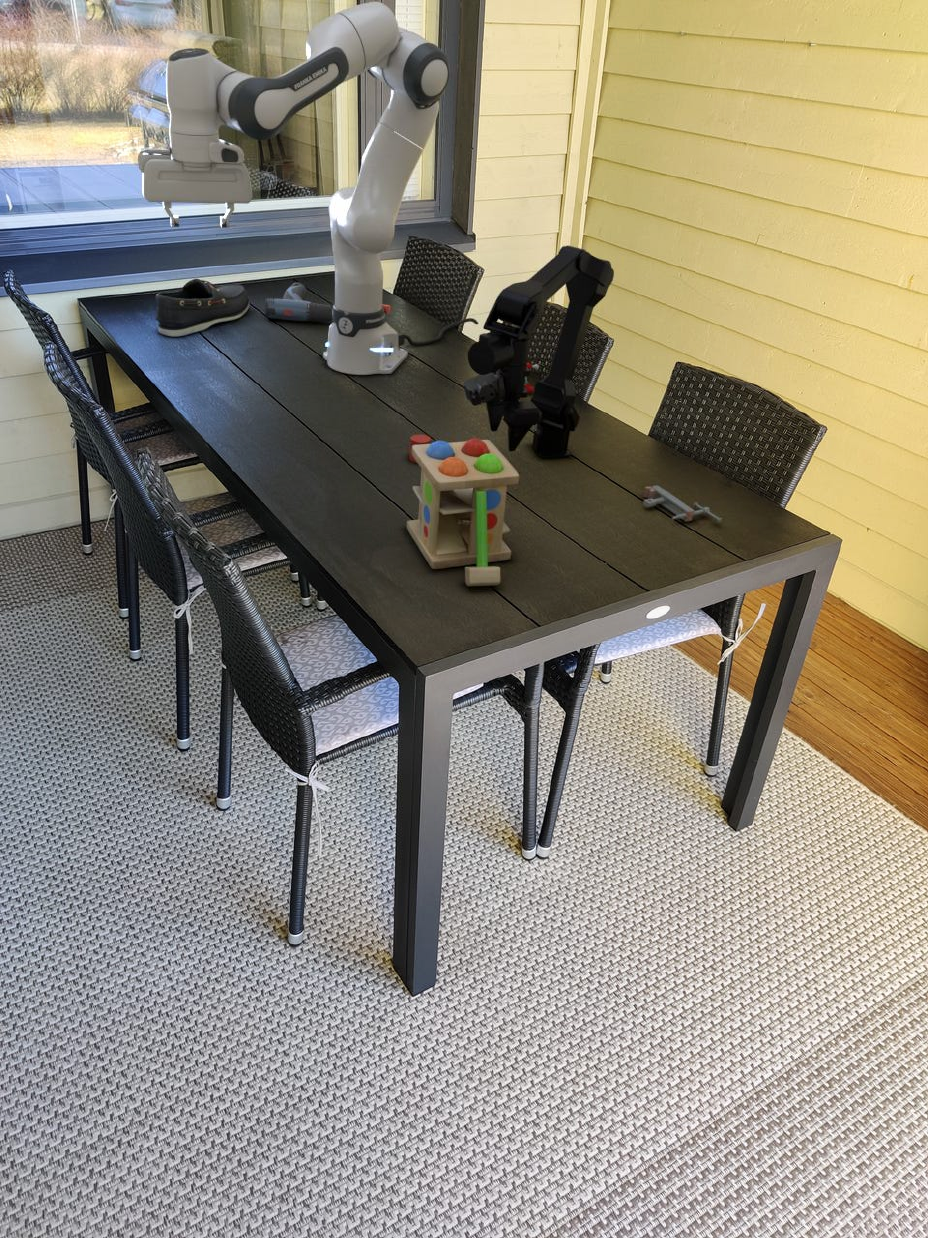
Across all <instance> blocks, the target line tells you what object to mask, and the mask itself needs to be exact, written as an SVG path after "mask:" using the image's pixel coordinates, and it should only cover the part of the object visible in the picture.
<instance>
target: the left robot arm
mask: <svg viewBox="0 0 928 1238" xmlns="http://www.w3.org/2000/svg"><path fill="white" fill-rule="evenodd" d="M398 23H399V22H398V20H397V18H396V15H395V14H394V12H393V11H392V10H391V8H390V7H388V6H387V5H386V4H385V3H384V2H383V3H382V2H380V1H369V2H365V3H364V2H363V3H360V4H356V5H353V6H350V7H348V8H345V9H343V10H340V11H338V12H336V13H334V14H332V15H330V16H328V17H326V18H324V19H323V20H322V19H321V21H319V22H318V23H317V24H316V25H315V26H313V27H312V28H311V29H310V30H309V31H308V33H307V36H306V41H305V54H306V57H307V59H306V60H304V61H303V62H302V63H299V64H297V65H296V66H295V67H293V68H291V69H289V70H288V71H286V72H285V73H283V74H281V75H279V76H276V77H263V76H262V77H261V76H255V75H252V74H248V73H246V72H243V71H240V70H237V69H236V68H233V67H231V66H230V65H228V64H225V63H224V62H222V61H220V60H219V59H218V58H216V57H215V56H214V55H212V53H211V52H210V51H209V50H208V49H205V48H200V47H195V48H183V49H179V50H177V51H174V52H172V53H171V55H170V56H169V57H168V59H167V62H166V70H165V85H166V87H165V88H166V89H165V90H166V103H167V108H168V110H169V115H170V116H169V117H170V120H169V126H168V130H169V144H170V147H151V146H149V147H145V149H143V150H141V151H140V152H139V153H138V155H137V163H138V169H139V171H140V172H141V173H142V178H141V179H142V180H141V181H142V185H141V186H142V195H143V196H142V197H143V198H144V199H145V200H146V201H147V202H149V203H162V206H163V209H164V211H165V212H166V213H167V215H168V217H169V219H170V220H169V221H170V226H171V227H170V228H180V223H179V222H180V218H179V215H174V214H173V212H172V210H171V209H173V207H172V203H179V204H181V203H182V204H183V203H184V204H186V203H187V204H188V203H189V204H225V208H226V212H225V213H224V215H220V216H219V219H220V222H219V223H220V228H226V229H227V228H230V218H231V217H232V215H233V213H234V211H235V204H241V205H242V204H244V205H247V204H250V203H251V202H252V200H253V188H252V181H251V175H250V172H249V169H248V168H247V166H246V164H245V163H244V162H245V153H244V151H243V149H242V148H241V147H240V146H238V145H237V144H234V143H231V142H229V141H225V140H224V139H220V133H219V131H220V130H219V129H220V127H221V126H226V127H229V128H231V129H233V130H236V131H238V132H241V133H243V134H244V135H246V136H247V137H249V138H251V139H253V140H255V141H267V140H270V139H272V138H275V137H276V136H278V134H280V132H282V131H283V129H284V128H285V127H286V125H287V124H288V123H289V121H290V120H291V119H292V118H293V117H294V116H295V115H296V114H297V113H299V112H300V111H301V110H303V109H305V108H306V107H307V106H309V105H311V104H312V103H315V102H316V101H318V100H319V99H321V98H322V97H323V96H326V94H329V93H330V92H332V91H333V90H335V89H336V88H337V87H339V86H340V85H341V84H344V83H345V82H348V81H350V80H352V79H354V78H356V77H358V76H359V75H361V74H364V73H365V72H367V73H368V74H369V75H370V76H371V77H373V78H374V79H377V80H379V81H380V82H381V83H382V84H383V85H385V86H387V87H388V88H390V99H389V102H388V103H387V105H386V107H385V109H384V111H383V113H382V114H381V116H380V117H379V120H378V122H377V124H376V126H375V129H374V131H373V133H372V135H371V136H370V139H369V141H368V143H367V145H366V148H365V150H364V152H363V154H362V156H361V165H360V168H359V169H360V170H359V174H358V178H357V181H356V184H355V187H354V186H347V187H342V188H339V189H338V190H337V191H335V192H334V193H333V195H332V196H331V198H330V200H329V203H328V215H329V216H328V217H329V221H330V222H329V223H330V237H331V248H332V255H333V256H332V257H333V265H334V303H333V305H332V307H333V311H332V314H333V320H332V323H331V324H330V325H329V326H328V336H327V342H325V347H327V348H326V351H324V352H323V353H322V358H323V359H324V360H326V362H327V363H326V365H327V366H328V367H329V368H330V369H332V370H334V371H336V372H339V373H341V374H342V373H343V374H347V375H356V376H369V375H379V374H380V375H389V374H392V373H393V372H394V371H395V370H396V369H397V368H398V367H399V366H400V365H401V364H402V363H403V361H405V360H406V359H407V357H408V356H409V354H408V353H409V351H407V350H405V349H403V348H401V346H404V345H405V340H407V342H408V344H409V345H410V346H415V347H416V346H426V345H429V344H433V343H436V342H439V341H440V340H441V339H442V337H443V334H444V333H445V332H446V331H448V330H449V329H452V328H455V327H457V326H460V325H463V324H466V323H473V324H474V325H479V321H478V320H477V319H475V318H472V317H468V318H464V319H461V320H458V321H455V322H452V323H450V324H448V325H446V326H444V327H443V328H442V329H440V331H439V332H438V335H437V336H436V337H434V338H430V339H428V340H424V341H413V340H412V339H411V336H409V335H407V334H405V333H403V332H400V331H397V330H396V329H394V328H393V327H392V326H391V325H390V324H389V323H388V322H387V319H386V314H387V315H388V314H391V308H392V306H391V305H390V304H385V303H383V292H384V290H383V288H384V271H383V267H382V262H381V254H380V253H382V252H384V251H385V250H387V249H388V248H389V247H390V245H391V244H392V243H393V241H394V237H395V230H396V229H395V226H396V221H397V218H398V215H399V211H400V209H401V205H402V201H403V197H404V195H405V192H406V188H407V186H408V183H409V181H410V179H411V177H412V174H413V173H414V171H415V169H416V166H417V164H418V163H419V160H420V158H421V156H422V155H423V152H424V150H425V148H426V146H427V144H428V142H429V139H430V138H431V135H432V132H433V129H434V126H435V123H436V120H437V117H438V114H439V110H440V102H439V100H440V98H442V96H443V94H444V93H445V91H446V88H447V86H448V83H449V79H450V74H451V73H450V71H451V68H450V67H451V66H450V61H449V58H448V57H447V55H446V53H445V52H444V51H443V50H442V49H441V48H440V47H438V45H436V44H435V43H433V42H430V41H428V40H427V39H426V38H424V37H423V36H421V35H419V34H418V33H417V32H414V31H410V30H407V29H405V28H403V27H400V26H399V24H398Z"/></svg>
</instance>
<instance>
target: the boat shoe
mask: <svg viewBox="0 0 928 1238" xmlns="http://www.w3.org/2000/svg"><path fill="white" fill-rule="evenodd" d="M155 299H156V317H155V320H156V321H157V322H158V324H157V326H158V332H159V333H160V334H161V335H163V336H167V337H183V336H187V335H189V334H190V335H191V334H193V333H197V332H200V331H204V330H206V329H208V328H209V327H210V326H212V325H214V324H218V323H222V322H228V321H234V320H237V319H239V318H241V317H242V316H244V315H245V314H246V313H247V312H248V310H249V308H250V299H249V295H248V292H247V290H246V289H245V287H244V286H243V285H242V284H239V283H231V284H226V285H221V286H217V287H216V286H215V284H214V283H212V282H210V281H208V280H205V279H200V278H193V279H191V280H189V281H187V282H185V284H184V285H183V286H182V287H181V289H180V290H176V291H170V292H169V291H168V292H167V291H165V292H159V293H157V294H156V295H155Z"/></svg>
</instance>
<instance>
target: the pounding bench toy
mask: <svg viewBox="0 0 928 1238" xmlns="http://www.w3.org/2000/svg"><path fill="white" fill-rule="evenodd" d="M412 456H413V457H414V459H415V460H416V462H417V463H416V464H417V465H418V467H419V468H420V469H421V471H420V472H421V474H420V485H418V486H417V485H413V486H412V490H413V492H414V495H416V497H417V499H418V500H419V501H418V502H419V504H418V506H419V507H418V519H412V520H407V521H406V529H407V531H408V533H409V535H410V536H411V538H412V540H413V541H414V543H415V544H416V546H417V547H418V549H419V551H420V552H421V554H422V555H423V557H424V559H425V560H426V561H427V563H428V565H429V567H430V569H433V570H439V569H440V570H441V569H448V568H453V567H454V568H455V567H456V568H457V567H462V566H463V567H464V566H465V567H464V583H465V585H466V586H467V587H486V586H488V587H489V586H491V587H492V586H499V585H500V584H501V567H499V566H497V565H489V563H491V562H492V563H493V562H500V561H507V560H511V556H512V550H511V549H510V548H509V546H508V545H507V544H506V542H505V541H504V540H503V534H507V533H510V532H511V529H510V528H509V526H508V525H507V524H506V522H505V512H506V511H505V509H506V502H507V501H506V500H507V491H508V490H507V488H508V486H512V485H517V484H519V482H520V481H519V480H520V474H519V473H518V471H517V470H516V469H515V467H513V465H512V464H511V463H510V462H509V460H508V459H507V458H506V457H505V456H504V455H503V454H502V453H501V451H500V450H499V449H498V448H497V447H496V446H495V444H494V443H493V442H492V441H491V440H489V439H480V438H471V439H469V440H464V441H455V442H453V441H452V442H447V441H444V440H436V441H433V442H432V443H431V444H421V445H413V446H412ZM469 565H476V566H469Z"/></svg>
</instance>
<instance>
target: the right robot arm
mask: <svg viewBox="0 0 928 1238" xmlns="http://www.w3.org/2000/svg"><path fill="white" fill-rule="evenodd" d="M614 277H615V270H614V268H613V267H612V264H611V261H609V260H606V259H602V258H598V257H596V256H595V255H592V254H591V253H590V252H589V251H587V250H586V249H584V248H581V247H576V246H572V245H568V244H567V245H563V246H561V247H560V249H559V251H558V252H557V254H556V255H555V256H554V257H553V258H552V259H551V260H549V261H548V262H547V263H546V264H545V265H544V266H543V267H541V268H540V269H539V270H537V272H536V273H534V274H533V275H532V276H531V277H530V278H529V279H527V280H525V281H520V282H514V283H512V284H510V285H509V286H506V287H505V288H504V289H502V290H501V291H500V292H499V293H498V295H497V296H496V299H495V300H494V303H493V304H492V306H491V308H490V311H489V313H488V316H487V317H486V320H485V322H484V324H483V327H482V328H483V330H485V331H489V332H487V333H486V332H484V333H480V334H479V336H478V341H476V342H474V343H473V344H472V345H471V346H470V347H469V349H468V351H467V361H468V362H467V363H468V364H469V366H470V368H471V370H472V371H473V372H474V373H475V374H478V375H475V376H473V377H471V378H468V379H466V380H464V381H463V382H462V386H463V389H464V390H463V391H464V393H465V397H466V399H467V400H469V402H470V403H471V405H472V406H475V407H476V406H480V405H482V404H485V406H486V410H487V416H488V422H489V427H490V431H491V432H497V431H498V429H499V427H500V424H501V422H502V421H503V422H504V423H505V424H506V425H507V445H508V451H509V452H515V451H516V450H517V448H518V447H519V445H520V444H521V442H522V441H523V439H524V438H525V436H526V435H527V434H528V433H529V431H530V430H531V429H532V427H533V426H536V428H534V430H533V435H532V436H533V438H532V442H531V444H530V446H531V448H532V449H533V450H534V451H535V453H536V454H537V455H538V456H539V458H541V459H557V458H558V459H559V458H570V456H571V454H570V452H569V451H568V447H569V442H570V441H569V440H570V436H571V435H570V434H571V432H572V433H573V432H575V431H576V428H577V427H578V425H579V423H580V418H581V416H580V415H579V413H578V411H577V409H576V407H575V401H576V397H577V396H576V391H575V386H574V382H573V379H574V375H575V372H576V369H577V364H578V362H579V358H580V355H581V352H582V348H583V344H584V342H585V338H586V335H587V332H588V328H589V326H590V325H589V324H590V321H591V317H592V314H593V311H594V308H595V307H596V306H597V305H598V304H599V303H601V301H602V300H603V299H604V298H605V297H606V295H607V293H608V290H609V288H610V286H611V285H612V282H613V281H614ZM564 286H565V288H566V292H567V296H568V300H569V301H568V304H567V308H566V312H565V315H564V318H563V322H562V325H561V326H562V327H561V329H560V333H559V336H558V340H557V343H556V347H555V350H554V354H553V357H552V361H551V365H550V368H549V371H548V374H547V375H546V376H545V377H544V378H543V379H542V380H541V381H540V380H538V381H537V382H536V383H535V384H534V388H533V389H534V390H533V392H532V396H531V398H530V400H526V401H525V400H524V401H521V399H525V398H526V399H527V398H528V394H529V393H528V392H527V389H526V388H525V386H524V385H525V377H526V378H527V377H530V376H531V370H530V369H528V368H527V363H528V361H529V353H530V343H531V336H533V335H535V334H536V333H537V329H536V328H535V327H534V326H535V325H536V324H537V322H538V321H539V319H541V318H542V316H543V315H544V307H545V305H546V303H547V302H548V301H549V300H550V299H552V297H553V296H554V295H556V293H558V292H559V291H560V290H561V289H562V288H563V287H564ZM500 321H501V322H500ZM502 322H503V323H502ZM506 323H507V324H506Z"/></svg>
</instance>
